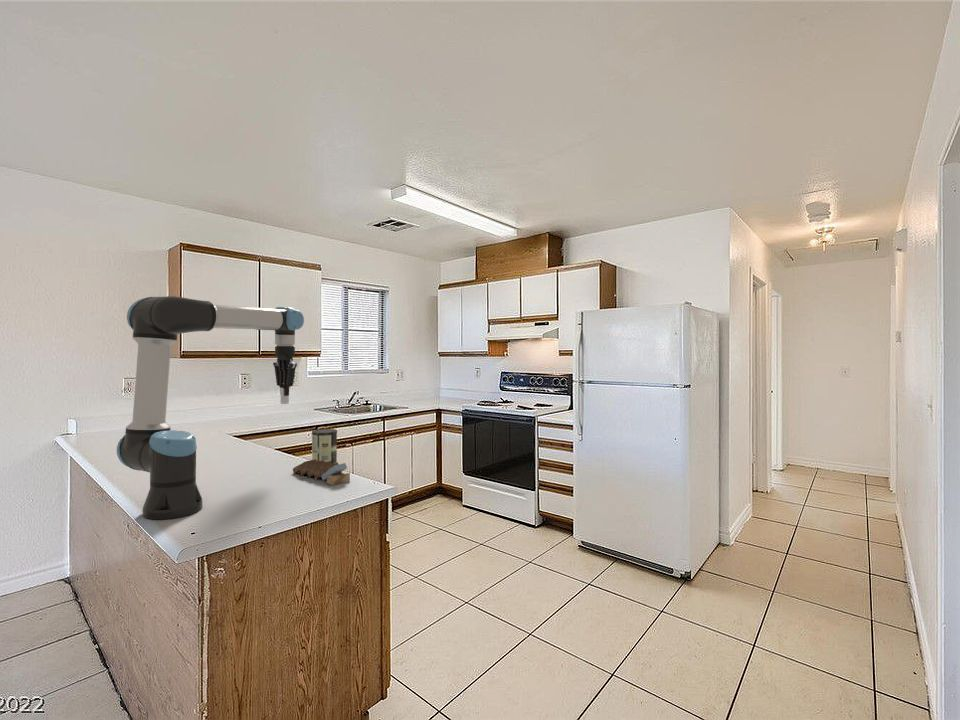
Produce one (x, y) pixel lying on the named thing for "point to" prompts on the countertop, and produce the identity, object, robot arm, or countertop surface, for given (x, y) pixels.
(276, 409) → the countertop surface
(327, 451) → the coffee can
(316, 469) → the domino
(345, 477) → the stop block
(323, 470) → the domino
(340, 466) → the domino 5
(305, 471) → the domino
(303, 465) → the domino
